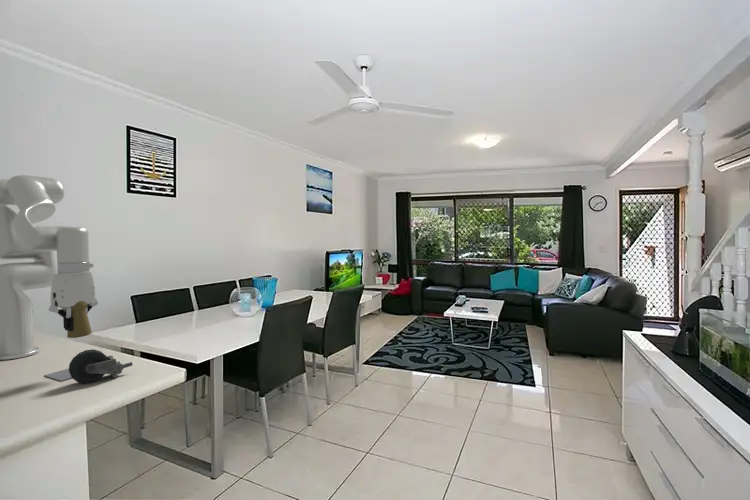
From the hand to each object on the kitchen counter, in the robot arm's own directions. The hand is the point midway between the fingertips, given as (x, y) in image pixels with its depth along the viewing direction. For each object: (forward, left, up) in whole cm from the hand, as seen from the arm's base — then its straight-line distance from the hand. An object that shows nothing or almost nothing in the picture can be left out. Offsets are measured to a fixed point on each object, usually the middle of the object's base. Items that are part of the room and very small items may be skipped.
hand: (75, 328), depth 117 cm
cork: (0, +1, -2) cm, 3 cm away
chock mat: (-1, 0, -14) cm, 14 cm away
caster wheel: (+11, +1, -14) cm, 18 cm away
